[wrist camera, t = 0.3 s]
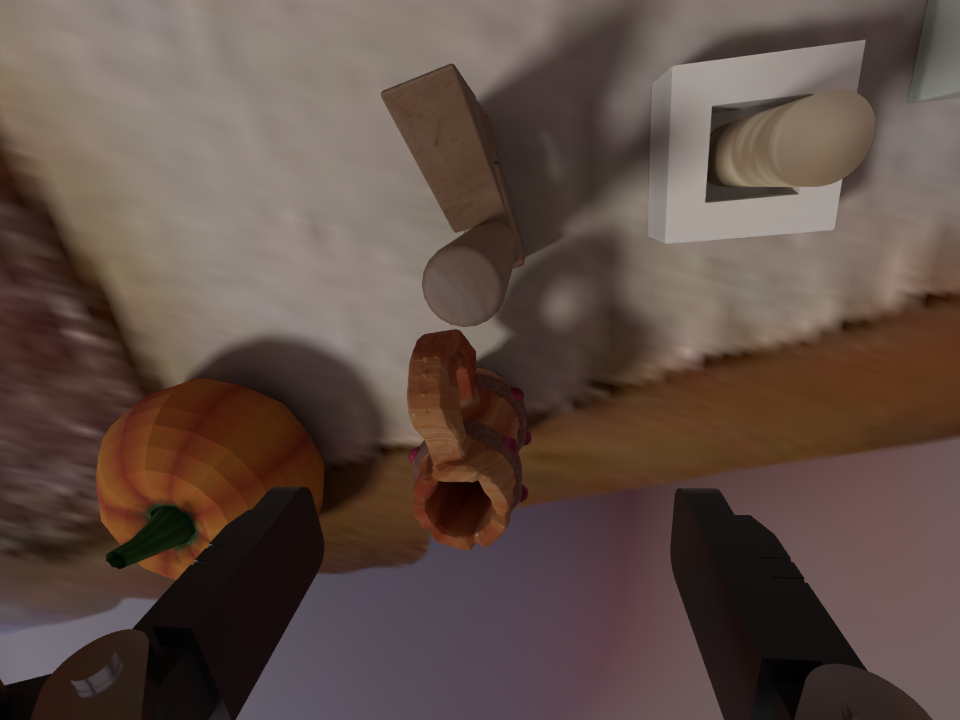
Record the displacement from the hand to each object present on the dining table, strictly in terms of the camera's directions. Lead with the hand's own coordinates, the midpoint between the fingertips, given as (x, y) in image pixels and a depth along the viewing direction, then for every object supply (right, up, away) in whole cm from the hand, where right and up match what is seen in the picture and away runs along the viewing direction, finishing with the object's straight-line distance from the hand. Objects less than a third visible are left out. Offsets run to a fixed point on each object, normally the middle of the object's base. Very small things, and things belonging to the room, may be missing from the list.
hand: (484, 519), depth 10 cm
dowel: (+17, +17, +21) cm, 32 cm away
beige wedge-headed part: (0, +16, +25) cm, 29 cm away
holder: (+17, +18, +22) cm, 33 cm away
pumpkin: (-23, -6, +36) cm, 43 cm away
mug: (0, +2, +30) cm, 30 cm away
